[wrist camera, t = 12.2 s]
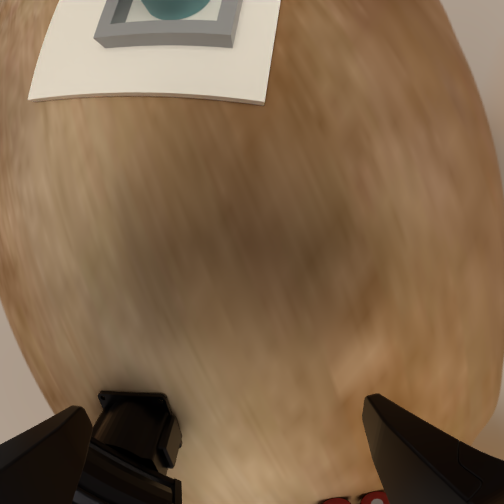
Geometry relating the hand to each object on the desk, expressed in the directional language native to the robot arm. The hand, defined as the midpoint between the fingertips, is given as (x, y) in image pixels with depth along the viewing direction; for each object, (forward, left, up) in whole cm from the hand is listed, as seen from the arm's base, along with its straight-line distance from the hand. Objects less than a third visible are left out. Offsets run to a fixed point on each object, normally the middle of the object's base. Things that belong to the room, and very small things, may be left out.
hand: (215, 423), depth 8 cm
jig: (-4, +21, -13) cm, 25 cm away
